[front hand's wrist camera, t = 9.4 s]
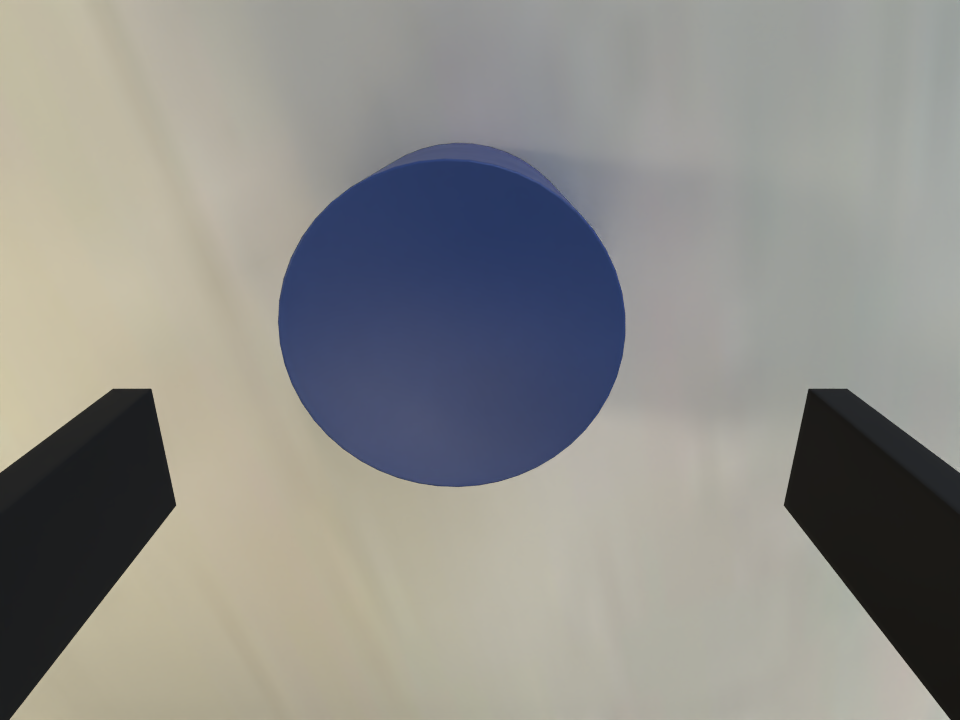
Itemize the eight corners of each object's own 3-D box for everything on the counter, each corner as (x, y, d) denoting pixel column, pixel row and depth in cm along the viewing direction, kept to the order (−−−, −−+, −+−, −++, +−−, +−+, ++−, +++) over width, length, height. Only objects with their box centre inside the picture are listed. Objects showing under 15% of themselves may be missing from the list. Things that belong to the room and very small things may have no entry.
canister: (486, 424, 25) (488, 538, 18) (292, 298, 23) (215, 375, 16) (634, 246, 22) (699, 304, 16) (428, 85, 20) (402, 74, 14)
